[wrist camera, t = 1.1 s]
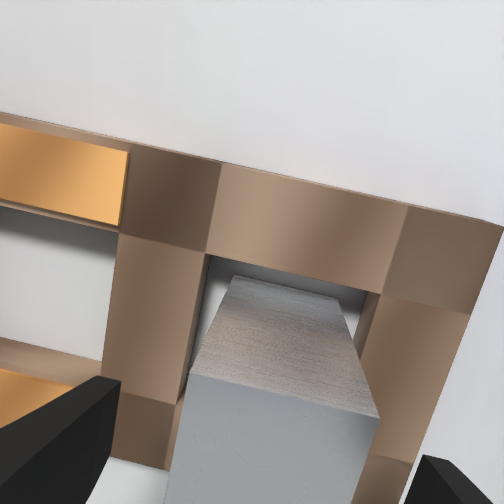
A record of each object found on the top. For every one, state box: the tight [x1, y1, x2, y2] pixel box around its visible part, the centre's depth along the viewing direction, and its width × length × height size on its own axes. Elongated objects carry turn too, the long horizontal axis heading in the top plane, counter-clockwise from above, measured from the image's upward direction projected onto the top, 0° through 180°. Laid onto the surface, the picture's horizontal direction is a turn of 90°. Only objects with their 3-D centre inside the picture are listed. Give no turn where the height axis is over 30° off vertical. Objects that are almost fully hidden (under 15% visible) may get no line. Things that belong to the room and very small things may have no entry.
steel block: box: [164, 274, 380, 504], centre depth 12 cm, size 4×4×7 cm
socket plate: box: [0, 112, 504, 504], centre depth 15 cm, size 21×12×2 cm, turn 78°
